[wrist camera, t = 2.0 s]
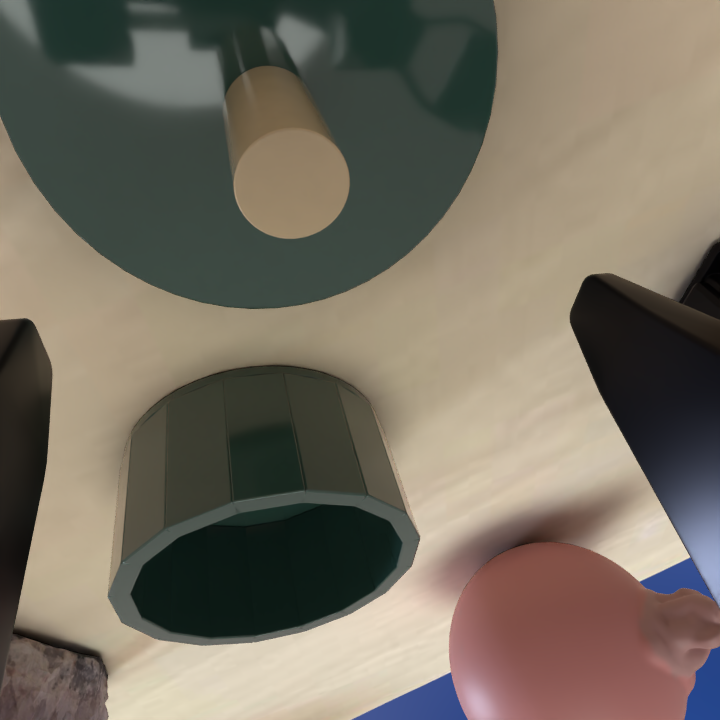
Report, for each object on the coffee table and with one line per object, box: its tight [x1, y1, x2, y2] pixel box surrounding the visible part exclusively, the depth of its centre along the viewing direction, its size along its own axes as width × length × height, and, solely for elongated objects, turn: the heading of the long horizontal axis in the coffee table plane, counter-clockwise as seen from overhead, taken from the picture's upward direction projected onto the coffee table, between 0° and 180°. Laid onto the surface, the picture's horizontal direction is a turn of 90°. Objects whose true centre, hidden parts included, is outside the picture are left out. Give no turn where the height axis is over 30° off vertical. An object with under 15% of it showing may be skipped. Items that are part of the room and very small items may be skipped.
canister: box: [108, 366, 420, 646], centre depth 25 cm, size 13×13×6 cm
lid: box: [0, 0, 498, 309], centre depth 14 cm, size 14×14×6 cm
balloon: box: [449, 542, 720, 720], centre depth 37 cm, size 15×20×15 cm
